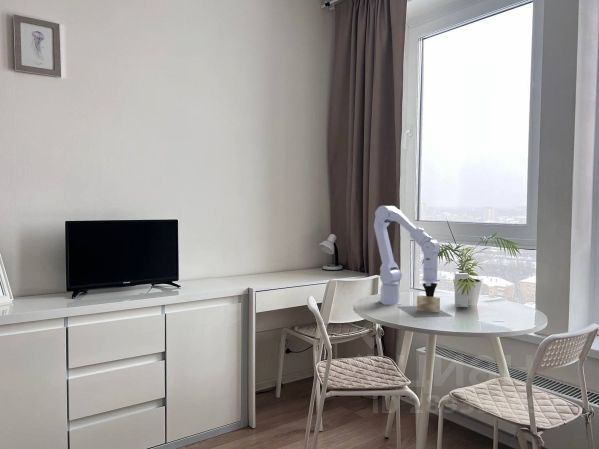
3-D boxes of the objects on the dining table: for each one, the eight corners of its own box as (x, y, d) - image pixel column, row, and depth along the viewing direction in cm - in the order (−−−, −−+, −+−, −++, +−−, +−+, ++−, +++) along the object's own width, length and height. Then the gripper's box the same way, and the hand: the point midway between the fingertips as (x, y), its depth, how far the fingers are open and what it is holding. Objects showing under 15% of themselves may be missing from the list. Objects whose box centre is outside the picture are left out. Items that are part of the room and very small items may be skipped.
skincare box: (468, 308, 200) (469, 274, 199) (453, 307, 202) (454, 273, 201) (469, 304, 207) (470, 271, 207) (455, 303, 210) (456, 270, 209)
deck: (416, 310, 193) (417, 296, 193) (417, 309, 194) (417, 295, 194) (439, 312, 189) (439, 297, 189) (439, 311, 191) (439, 297, 191)
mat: (396, 307, 200) (396, 306, 200) (431, 306, 203) (431, 305, 203) (414, 318, 181) (414, 317, 181) (453, 317, 183) (453, 316, 183)
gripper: (438, 271, 188) (438, 304, 188) (441, 267, 201) (441, 298, 202) (420, 270, 190) (420, 303, 191) (425, 266, 204) (424, 296, 204)
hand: (429, 300), depth 196 cm, fingers closed
